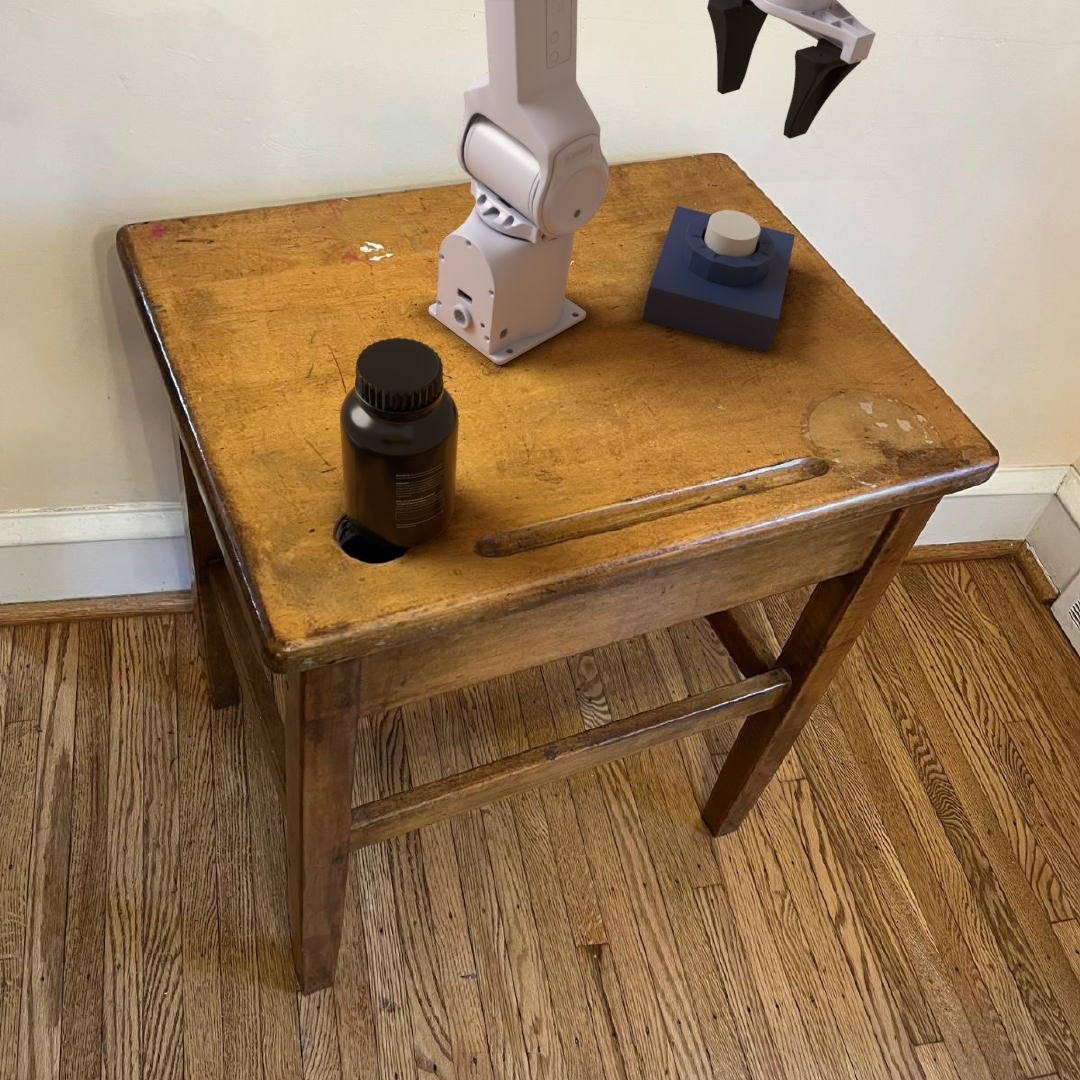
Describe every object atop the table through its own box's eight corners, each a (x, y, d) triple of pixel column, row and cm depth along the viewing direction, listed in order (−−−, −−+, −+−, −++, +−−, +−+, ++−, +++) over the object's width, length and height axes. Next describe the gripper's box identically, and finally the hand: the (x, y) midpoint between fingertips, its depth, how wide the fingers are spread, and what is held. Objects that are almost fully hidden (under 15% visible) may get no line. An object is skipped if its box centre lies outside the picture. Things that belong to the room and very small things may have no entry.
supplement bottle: (460, 480, 70) (472, 335, 61) (444, 560, 66) (454, 415, 56) (356, 465, 70) (352, 317, 61) (332, 543, 65) (324, 396, 56)
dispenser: (767, 352, 82) (785, 299, 79) (641, 320, 83) (653, 266, 80) (784, 267, 90) (801, 215, 87) (668, 238, 91) (681, 185, 87)
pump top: (751, 264, 82) (757, 244, 81) (700, 251, 82) (705, 232, 81) (757, 236, 84) (763, 217, 83) (708, 224, 85) (713, 205, 83)
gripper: (926, -39, 75) (860, 142, 85) (778, -114, 81) (733, 62, 92) (860, -23, 71) (800, 164, 82) (712, -103, 78) (673, 79, 88)
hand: (760, 111), depth 86 cm, fingers open, 7 cm apart
